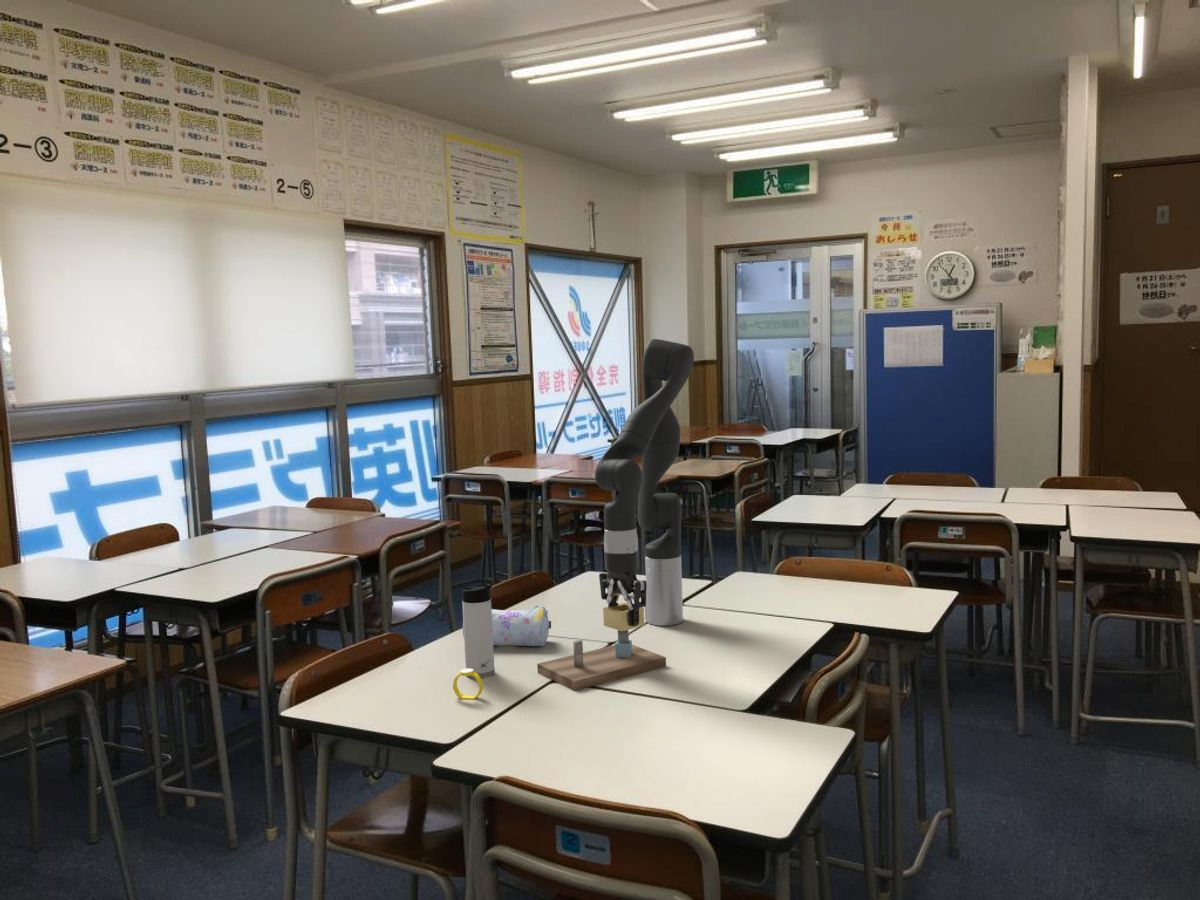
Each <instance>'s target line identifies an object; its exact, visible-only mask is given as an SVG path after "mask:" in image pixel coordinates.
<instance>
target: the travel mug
mask: <svg viewBox="0 0 1200 900" xmlns="http://www.w3.org/2000/svg"><path fill="white" fill-rule="evenodd" d="M492 588H493V585H492V583H479V584H478V583H477V584H474V585H470V586H467V587H464V589H462V590H461V594H462V595H461V597H462V598H461V599H462V601H461V603H462V618H463V619H462V626H463V625H464V637H463V638H464V639H463V641H464V642H463V643H464V659H465V669H468V668H471V669H473V670H474V672H475V673H477V674H478V675H479V676H480V678H481V679H485V678H488V677H491V676H493V675H494V674H495V672H496V669H495V652H494V645H493V628H492V609H493V608H492V602H491V601H492V597H491V589H492ZM467 677H468V678H472V679H476V678H475V677H473V676H472V675H469V676H467Z"/></svg>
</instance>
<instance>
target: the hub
mask: <svg viewBox="0 0 1200 900" xmlns="http://www.w3.org/2000/svg"><path fill="white" fill-rule="evenodd" d="M632 642H633V641H632V639H630V638H629V630H625V631H619V630H617V639H616V642H615V643H614V645H615V653H616V657H630V656H631V654H632V645H633V643H632Z"/></svg>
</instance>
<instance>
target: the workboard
mask: <svg viewBox="0 0 1200 900" xmlns="http://www.w3.org/2000/svg"><path fill="white" fill-rule="evenodd" d="M572 644H573V645H572V646H573V647H572V649H573V654H572V655H568V656H563V657H560V658H555V659H552V660H547V661H543V662H539V663H537V673H538V674H539V675H542V676H544V677H545V678H548V679H550V680H552V681H554V682H556V683H559V684H560V685H562V686H564V687H566V688H569V689H571V690H573V691H578V690H579V691H580V690H582V689H583V690H584V689H586V688H591V687H593V686H594V687H595V686H597V685H601V684H604V683H605V684H606V683H608V682H612V681H616V680H619V679H620V680H621V679H623V678H627V677H630V676H636V675H638V674H642V673H646V672H650V671H653V670H657V669H660V668H661V669H662V668H665V667H667V657H666V656H664V655H661V654H658V653H656V652H653V651H650V650H647V649H645V648H642V647H640V646H637V645H634V644H632V654H631V656H630V657H616V653H615V644H613V645H609V646H605V647H601V648H597V649H592V650H589V651H584V649H583V647H584V645H583V640H582V639H581V640H580V639H576V640H573V642H572Z"/></svg>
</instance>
